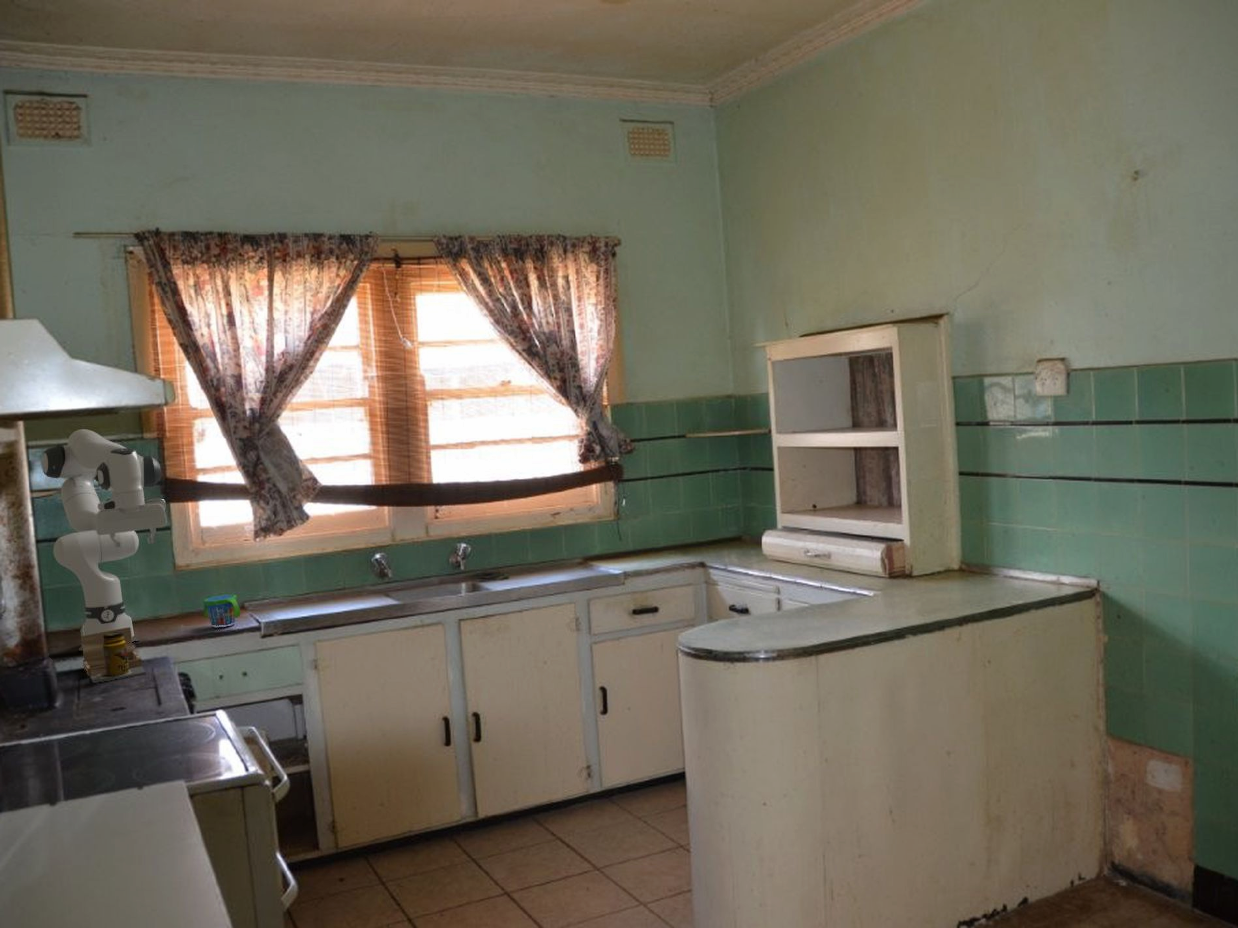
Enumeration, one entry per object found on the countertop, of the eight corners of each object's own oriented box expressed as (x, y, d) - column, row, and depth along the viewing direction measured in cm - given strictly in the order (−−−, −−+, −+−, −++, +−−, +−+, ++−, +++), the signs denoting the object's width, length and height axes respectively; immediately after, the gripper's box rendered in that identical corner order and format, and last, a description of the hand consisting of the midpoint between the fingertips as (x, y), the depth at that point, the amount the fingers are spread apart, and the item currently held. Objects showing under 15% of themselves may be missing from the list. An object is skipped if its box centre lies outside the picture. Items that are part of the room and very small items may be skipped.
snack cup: (196, 628, 383) (193, 599, 382) (223, 621, 392) (219, 593, 391) (224, 631, 374) (220, 601, 373) (250, 624, 383) (247, 595, 382)
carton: (83, 668, 336) (79, 635, 335) (135, 658, 343) (131, 626, 343) (88, 677, 323) (84, 643, 322) (142, 666, 330) (138, 634, 329)
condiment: (132, 673, 320) (127, 632, 319) (100, 679, 315) (95, 638, 314) (128, 669, 326) (123, 629, 325) (97, 675, 321) (91, 635, 321)
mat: (90, 678, 321) (90, 676, 321) (142, 668, 328) (141, 666, 328) (93, 684, 314) (93, 681, 314) (146, 673, 321) (146, 671, 321)
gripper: (163, 496, 349) (168, 539, 350) (92, 504, 339) (97, 549, 340) (166, 497, 343) (171, 541, 345) (94, 505, 333) (100, 551, 334)
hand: (134, 545), depth 342 cm, fingers open, 8 cm apart
